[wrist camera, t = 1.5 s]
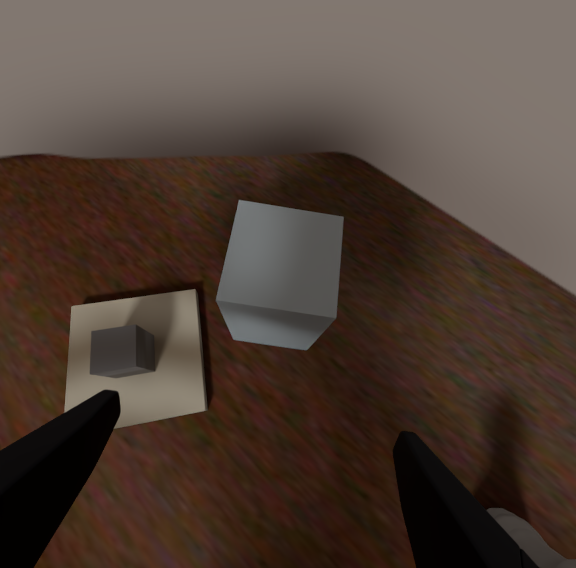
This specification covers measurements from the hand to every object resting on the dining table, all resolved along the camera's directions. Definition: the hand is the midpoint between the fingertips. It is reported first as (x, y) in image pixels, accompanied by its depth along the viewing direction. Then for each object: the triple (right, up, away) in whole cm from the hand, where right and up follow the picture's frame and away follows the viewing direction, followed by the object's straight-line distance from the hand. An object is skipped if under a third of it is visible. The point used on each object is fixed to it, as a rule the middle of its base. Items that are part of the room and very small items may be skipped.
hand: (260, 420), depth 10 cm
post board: (-10, -1, +13) cm, 16 cm away
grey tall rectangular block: (0, +2, +15) cm, 15 cm away
